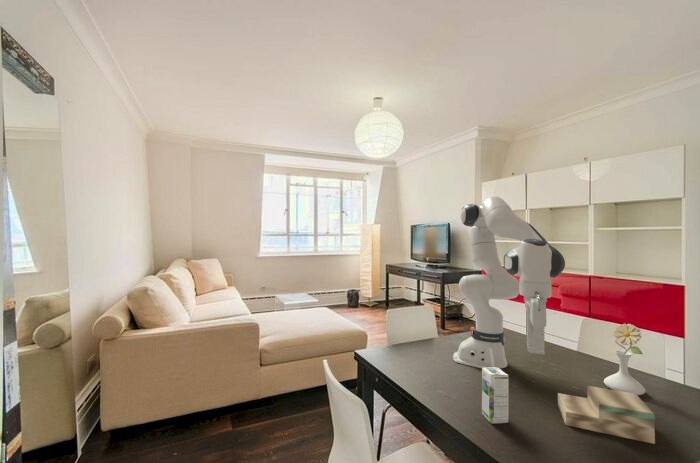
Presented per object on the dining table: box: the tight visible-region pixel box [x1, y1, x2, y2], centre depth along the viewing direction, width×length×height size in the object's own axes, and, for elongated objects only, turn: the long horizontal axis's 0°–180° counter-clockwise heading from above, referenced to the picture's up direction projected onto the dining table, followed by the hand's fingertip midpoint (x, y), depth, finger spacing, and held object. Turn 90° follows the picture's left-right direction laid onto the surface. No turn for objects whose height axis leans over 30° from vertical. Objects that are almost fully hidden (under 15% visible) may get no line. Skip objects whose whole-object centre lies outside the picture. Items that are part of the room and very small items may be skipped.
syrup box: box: [481, 367, 509, 425], centre depth 95 cm, size 6×6×14 cm
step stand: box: [557, 385, 656, 445], centre depth 92 cm, size 20×12×8 cm, turn 65°
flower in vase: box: [603, 323, 646, 396], centre depth 111 cm, size 13×11×25 cm
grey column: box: [526, 305, 546, 355], centre depth 99 cm, size 4×4×14 cm
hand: (535, 333), depth 99 cm, fingers closed on grey column, 4 cm apart
